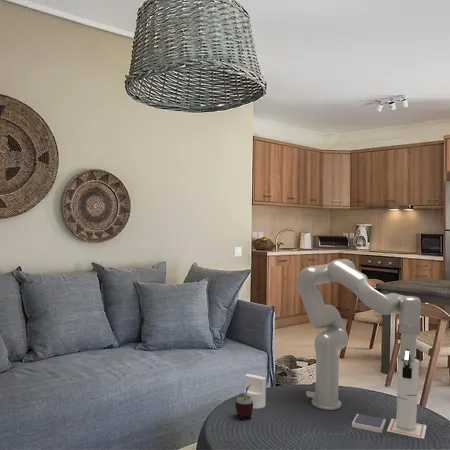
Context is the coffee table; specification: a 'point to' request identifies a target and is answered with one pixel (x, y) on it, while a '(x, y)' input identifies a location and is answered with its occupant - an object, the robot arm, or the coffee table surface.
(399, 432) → the marked paper
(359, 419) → the ink pad
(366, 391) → the coffee table surface
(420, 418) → the coffee table surface
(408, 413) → the cylindrical container
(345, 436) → the coffee table surface
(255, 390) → the base with upright slab
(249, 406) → the mate gourd
